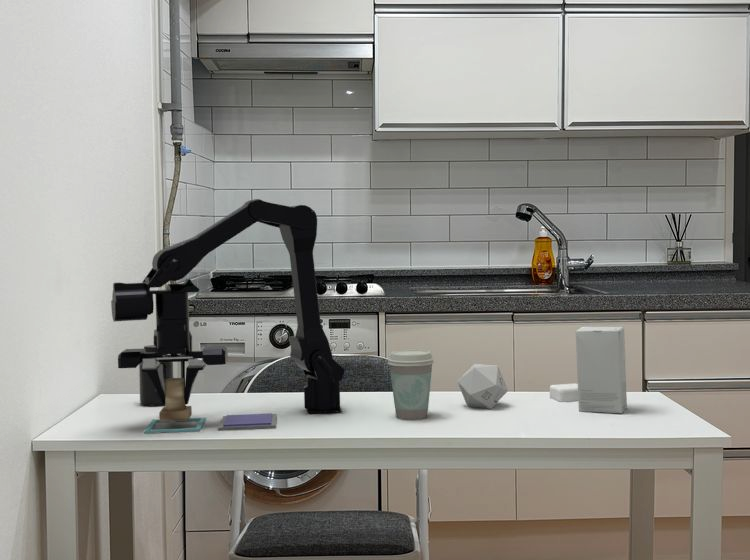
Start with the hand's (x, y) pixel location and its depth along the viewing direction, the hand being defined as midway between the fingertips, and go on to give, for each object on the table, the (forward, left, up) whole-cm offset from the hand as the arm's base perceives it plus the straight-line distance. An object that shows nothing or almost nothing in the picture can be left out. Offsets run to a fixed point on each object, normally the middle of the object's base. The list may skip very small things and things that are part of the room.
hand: (175, 404), depth 151 cm
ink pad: (-13, 0, -4) cm, 14 cm away
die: (-58, -7, -4) cm, 58 cm away
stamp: (0, 0, -2) cm, 2 cm away
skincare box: (-79, +1, -4) cm, 79 cm away
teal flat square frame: (0, 0, -4) cm, 4 cm away
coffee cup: (-43, 0, -4) cm, 43 cm away
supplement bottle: (+7, -23, -4) cm, 24 cm away
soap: (-78, -11, -4) cm, 79 cm away
